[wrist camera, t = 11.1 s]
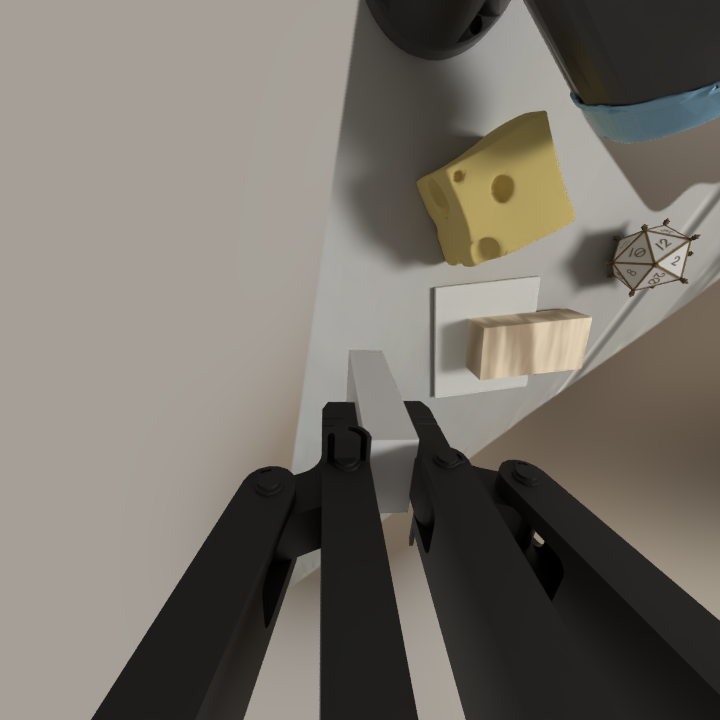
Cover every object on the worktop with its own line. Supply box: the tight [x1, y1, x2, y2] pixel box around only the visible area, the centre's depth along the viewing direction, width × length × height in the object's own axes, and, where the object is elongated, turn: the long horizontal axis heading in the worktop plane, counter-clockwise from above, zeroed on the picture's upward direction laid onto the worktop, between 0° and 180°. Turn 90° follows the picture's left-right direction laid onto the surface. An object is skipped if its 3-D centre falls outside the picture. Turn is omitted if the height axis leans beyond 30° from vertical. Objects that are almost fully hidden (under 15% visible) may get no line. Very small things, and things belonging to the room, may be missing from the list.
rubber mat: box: [434, 276, 540, 398], centre depth 46 cm, size 14×16×1 cm
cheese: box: [416, 111, 575, 267], centre depth 35 cm, size 10×11×10 cm
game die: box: [605, 218, 700, 297], centre depth 40 cm, size 9×8×10 cm
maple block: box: [466, 309, 592, 380], centre depth 44 cm, size 4×7×14 cm
